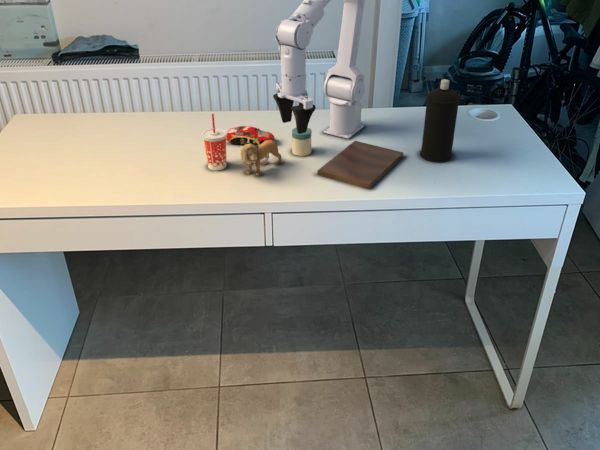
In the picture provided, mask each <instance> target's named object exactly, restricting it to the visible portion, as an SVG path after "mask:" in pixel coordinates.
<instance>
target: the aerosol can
mask: <svg viewBox="0 0 600 450" xmlns="http://www.w3.org/2000/svg"><path fill="white" fill-rule="evenodd" d="M425 98H426V105H425V114H424V122H423V123H424V124H423V131H422V140H421V141H422V142H421V150H420V151H419V156H420V157H421V158H422V159H423V160H426V161H429V162H432V163H445V162H448V161H450V160H452V158H453V152H452V151H453V146H454V139H455V132H456V124H457V118H458V110H459V103H460V101H461V97H460V95H458V93H457V92H456V91H455V90H453V89H451V88H450V80H449V79H446V78H443V79H441V80H440V86H439V87H437V88H434V89H432V90H431V91H429V93H427V94H426V96H425Z"/></svg>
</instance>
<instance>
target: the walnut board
mask: <svg viewBox="0 0 600 450" xmlns="http://www.w3.org/2000/svg"><path fill="white" fill-rule="evenodd" d="M403 157H404V152H403V151H399V150H395V149H391V148H388V147H387V148H386V147H382V146H379V145H374V144H371V143H367V142H362V141H359V140H358V141H357V140H354V141H353V142H352V143H350V144H349V145H348V146H347V147H345V148H344V149H343V150H341V151H340V152H339V153H338V154H336V155H335V156H334V157H333V158H332V159H330V160H329V161H328V162H326V163H325V164H323V166H321V167H320V168H319V169H318V170H317V175H318V176H321V177H325V178H328V179H332V180H334V181H339V182H341V183H342V182H343V183H345V184H350V185H353V186H356V187H360V188H363V189H368V190H369V189H371V188H372V187H373V186H374V185H375V184H376V183H377V182H378V181H379V180H380V179H381V178H382V177H383V176H385V175H386V173H388V172H389V171H390V170H391V169H392V168H393V167H394V166H395V165H396V164H397V163H398V162H400V160H402V158H403Z"/></svg>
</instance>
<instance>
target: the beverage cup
mask: <svg viewBox="0 0 600 450" xmlns="http://www.w3.org/2000/svg"><path fill="white" fill-rule="evenodd" d="M211 121H212V128H209V129H205V130H204V131H202V133H201V138H202V140H203V144H204V150H205V156H206V162H207V167H208V169H209V170H211V171H222V170H225V169H226V168H227V140H226V139H227V138H226V137H227V132H228V131H227V130H225V129H223V128H218V127H216V126H215V125H216V124H215V113H211Z"/></svg>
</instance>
